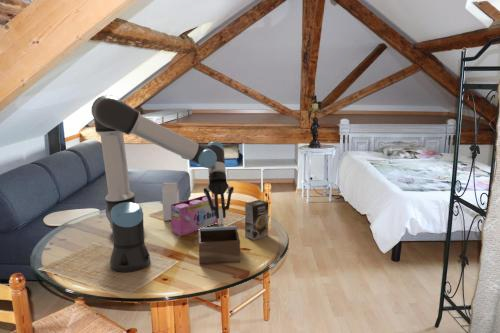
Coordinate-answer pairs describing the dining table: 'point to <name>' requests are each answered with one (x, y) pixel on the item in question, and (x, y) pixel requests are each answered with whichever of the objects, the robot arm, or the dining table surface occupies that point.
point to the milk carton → (169, 198)
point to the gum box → (192, 215)
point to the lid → (218, 228)
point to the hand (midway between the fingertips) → (221, 225)
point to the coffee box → (256, 219)
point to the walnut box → (219, 247)
